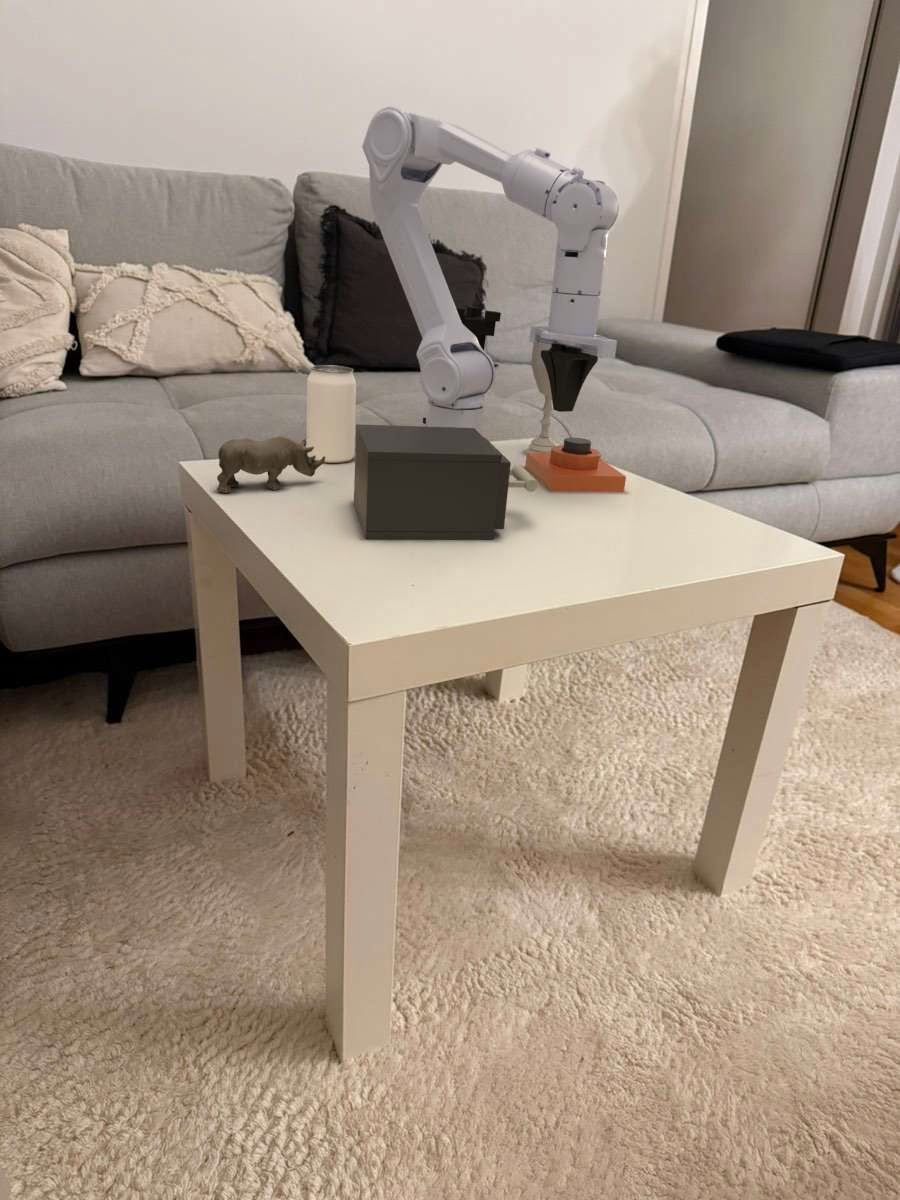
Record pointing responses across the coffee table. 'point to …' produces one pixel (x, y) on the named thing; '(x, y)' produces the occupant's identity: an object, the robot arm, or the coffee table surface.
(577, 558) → the coffee table surface
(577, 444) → the button
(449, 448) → the cabinet
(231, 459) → the rhino figurine
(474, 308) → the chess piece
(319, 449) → the can
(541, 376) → the chalice
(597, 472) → the control block
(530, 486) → the drawer
